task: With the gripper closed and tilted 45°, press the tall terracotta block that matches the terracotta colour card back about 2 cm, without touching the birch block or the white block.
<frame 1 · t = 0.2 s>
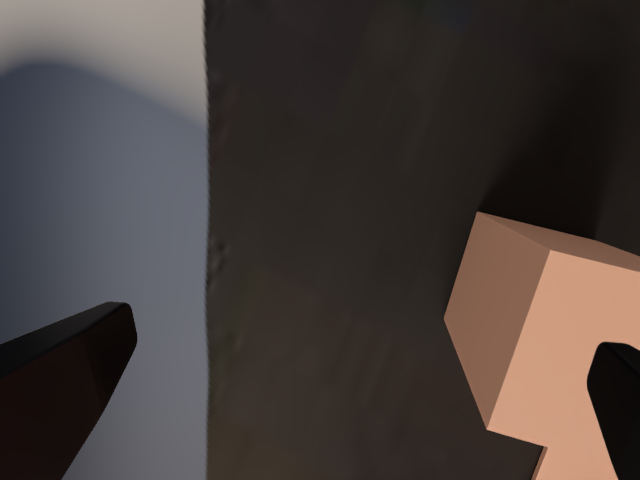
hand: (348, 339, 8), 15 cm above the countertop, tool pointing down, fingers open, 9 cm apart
terracotta block: (554, 314, 18), point 5 cm above the countertop, slide at 0.0 cm
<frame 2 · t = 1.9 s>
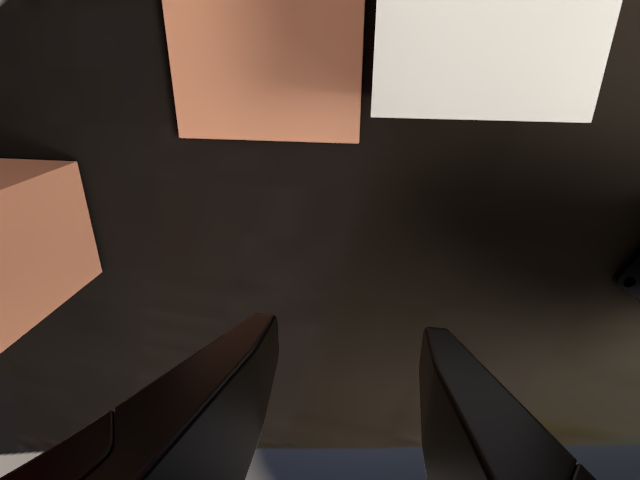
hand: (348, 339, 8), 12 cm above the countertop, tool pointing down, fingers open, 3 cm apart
white block: (459, 14, 16), on the countertop
colour card: (265, 66, 18), on the countertop
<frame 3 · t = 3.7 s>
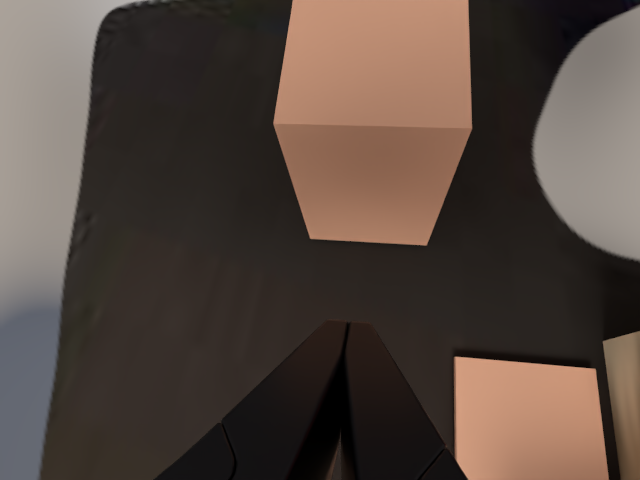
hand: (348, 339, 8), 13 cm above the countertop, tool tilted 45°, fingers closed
terracotta block: (372, 137, 19), point 5 cm above the countertop, slide at 0.0 cm
colour card: (527, 460, 18), on the countertop
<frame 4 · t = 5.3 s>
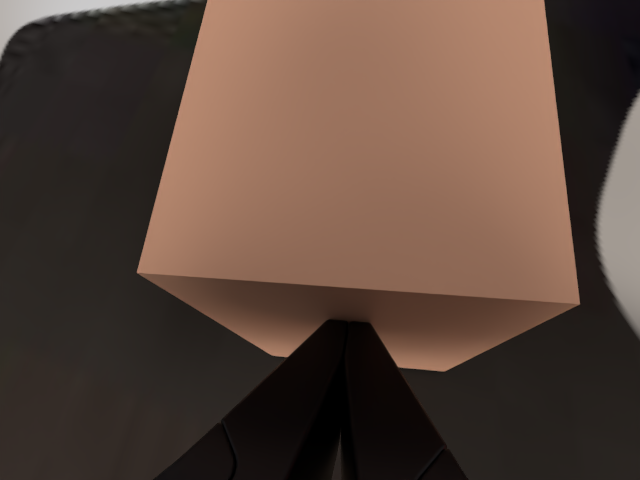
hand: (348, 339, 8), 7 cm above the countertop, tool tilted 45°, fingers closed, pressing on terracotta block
terracotta block: (360, 228, 12), point 5 cm above the countertop, slide at 0.6 cm, touching gripper
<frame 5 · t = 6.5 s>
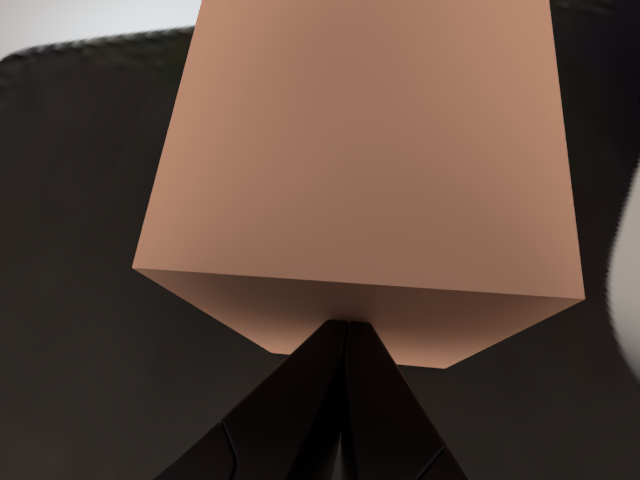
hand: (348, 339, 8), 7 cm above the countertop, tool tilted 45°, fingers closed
terracotta block: (360, 224, 11), point 5 cm above the countertop, slide at 3.0 cm
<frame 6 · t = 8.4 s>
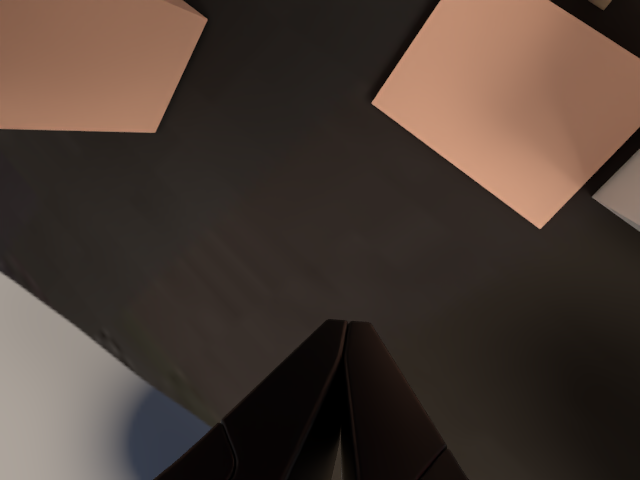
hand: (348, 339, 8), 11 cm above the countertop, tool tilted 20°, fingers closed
terracotta block: (37, 17, 16), point 5 cm above the countertop, slide at 3.0 cm
colour card: (507, 96, 16), on the countertop
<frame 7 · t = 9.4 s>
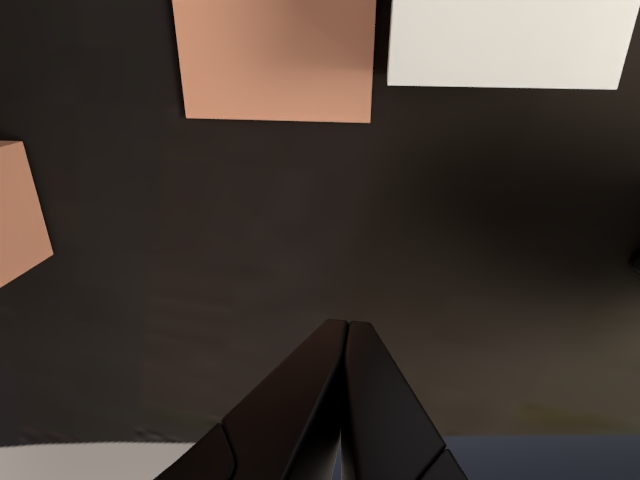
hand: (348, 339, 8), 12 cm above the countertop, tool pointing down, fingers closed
colour card: (275, 43, 18), on the countertop
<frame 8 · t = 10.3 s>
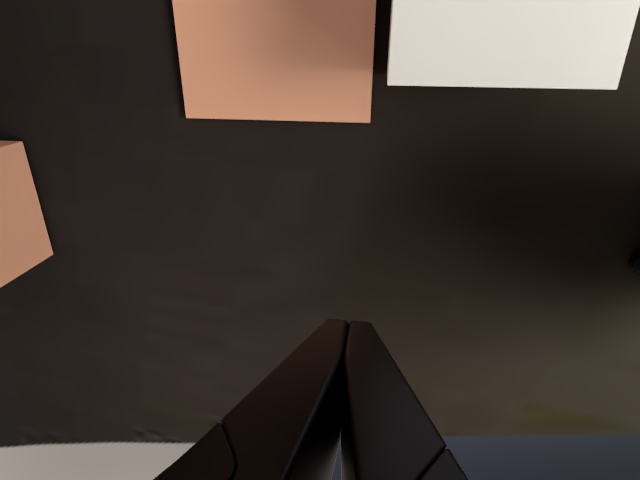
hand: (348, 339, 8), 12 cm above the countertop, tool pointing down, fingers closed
colour card: (275, 43, 18), on the countertop
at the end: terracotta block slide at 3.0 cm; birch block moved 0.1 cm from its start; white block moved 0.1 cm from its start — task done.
